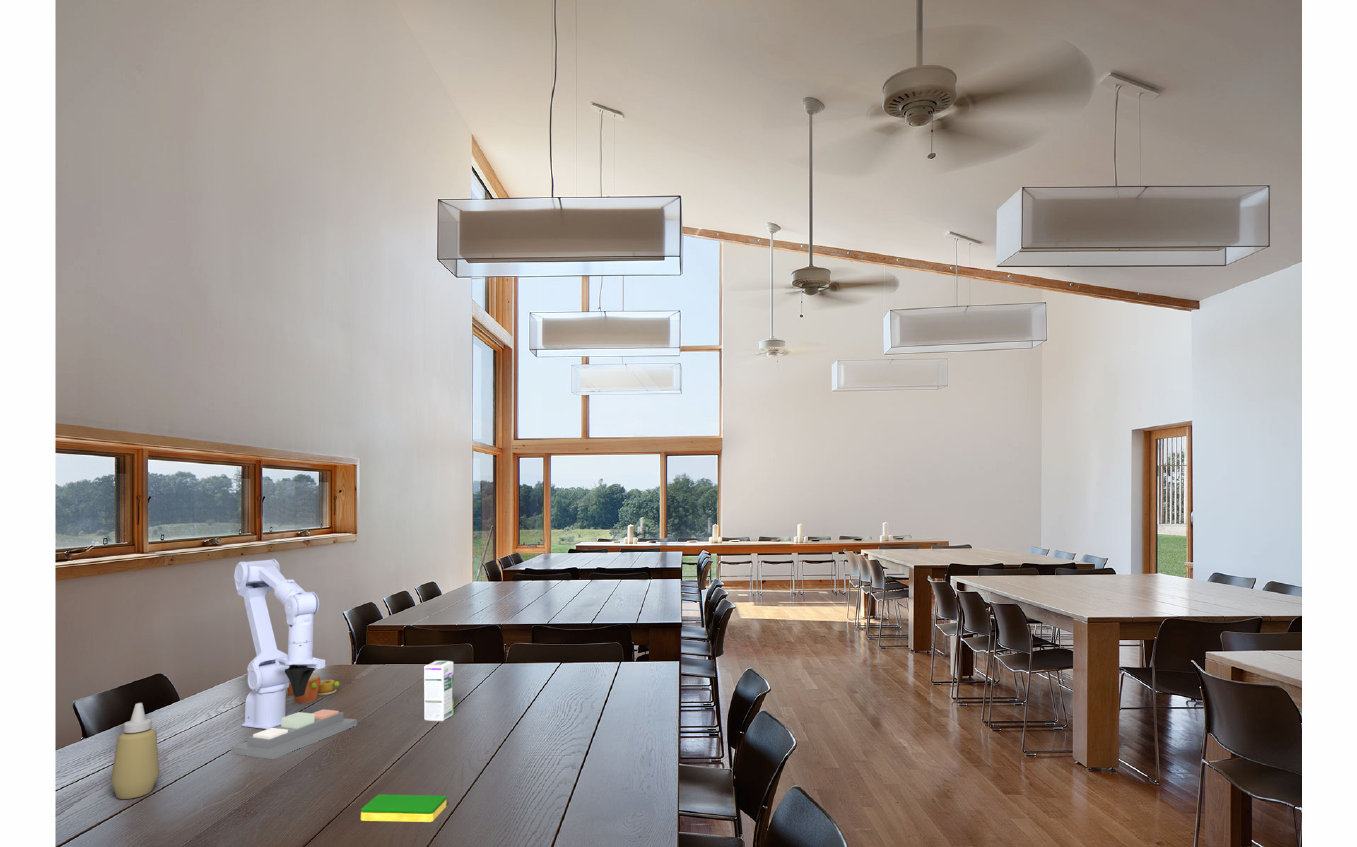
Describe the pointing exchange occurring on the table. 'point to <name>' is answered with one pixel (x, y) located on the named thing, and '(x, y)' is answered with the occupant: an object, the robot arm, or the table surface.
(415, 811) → the dish sponge
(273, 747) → the stepped grey tray
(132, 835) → the table surface
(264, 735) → the cream key
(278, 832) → the table surface
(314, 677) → the toy tea set
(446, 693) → the syrup box
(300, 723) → the sage key
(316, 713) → the terracotta key
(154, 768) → the squeeze bottle
